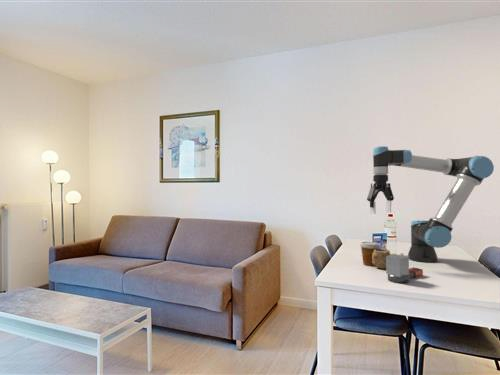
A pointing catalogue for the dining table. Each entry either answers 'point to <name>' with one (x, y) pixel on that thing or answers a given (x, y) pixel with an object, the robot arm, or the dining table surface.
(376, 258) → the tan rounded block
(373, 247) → the disposable coffee cup
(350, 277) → the dining table surface
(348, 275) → the dining table surface
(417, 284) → the dining table surface
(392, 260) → the grey upright box
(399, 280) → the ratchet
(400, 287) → the dining table surface
